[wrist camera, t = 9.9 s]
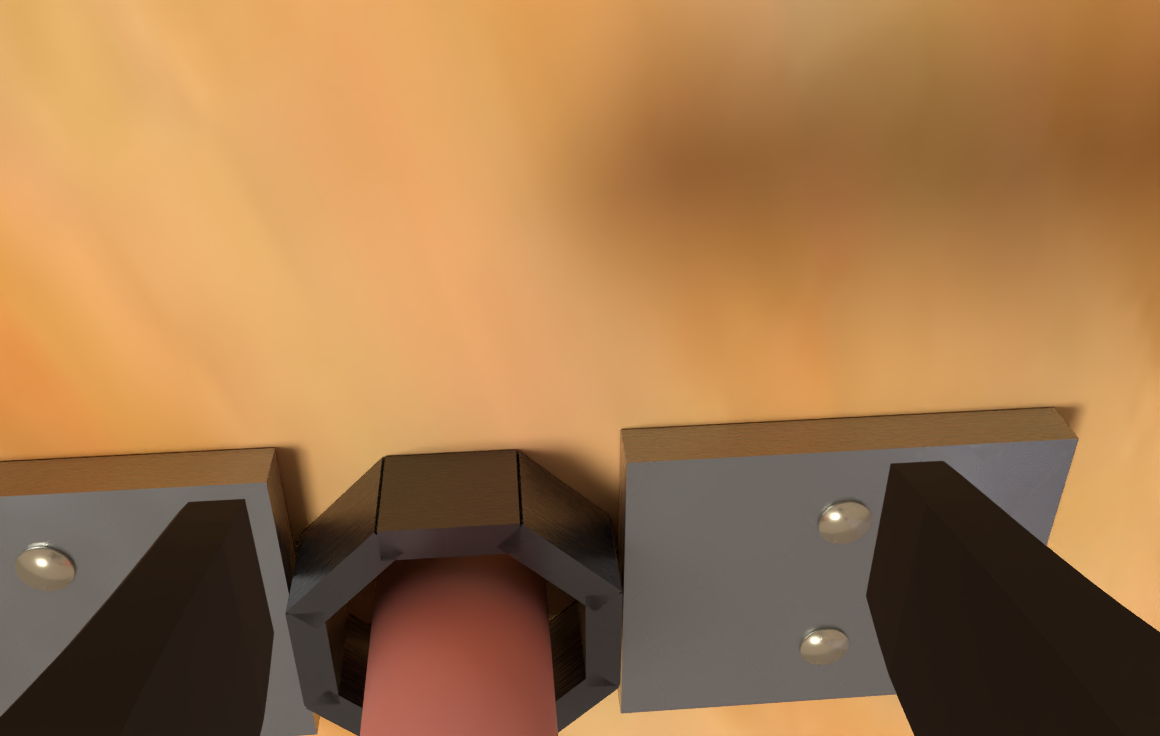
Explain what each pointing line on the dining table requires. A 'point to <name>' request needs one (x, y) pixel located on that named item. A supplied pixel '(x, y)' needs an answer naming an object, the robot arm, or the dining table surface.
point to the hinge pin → (459, 650)
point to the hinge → (544, 553)
